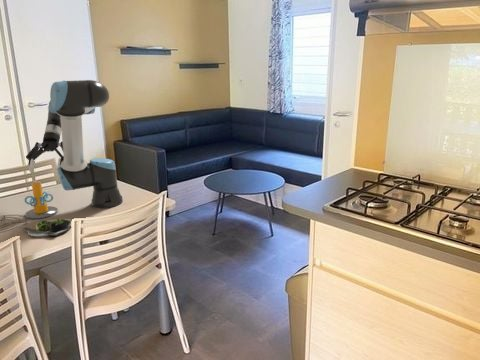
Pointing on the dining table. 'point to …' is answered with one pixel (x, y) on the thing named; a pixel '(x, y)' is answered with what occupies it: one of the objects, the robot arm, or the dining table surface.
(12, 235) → the dining table surface
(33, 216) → the base plate
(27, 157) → the robot arm
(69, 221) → the salad plate
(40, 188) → the cylinder
